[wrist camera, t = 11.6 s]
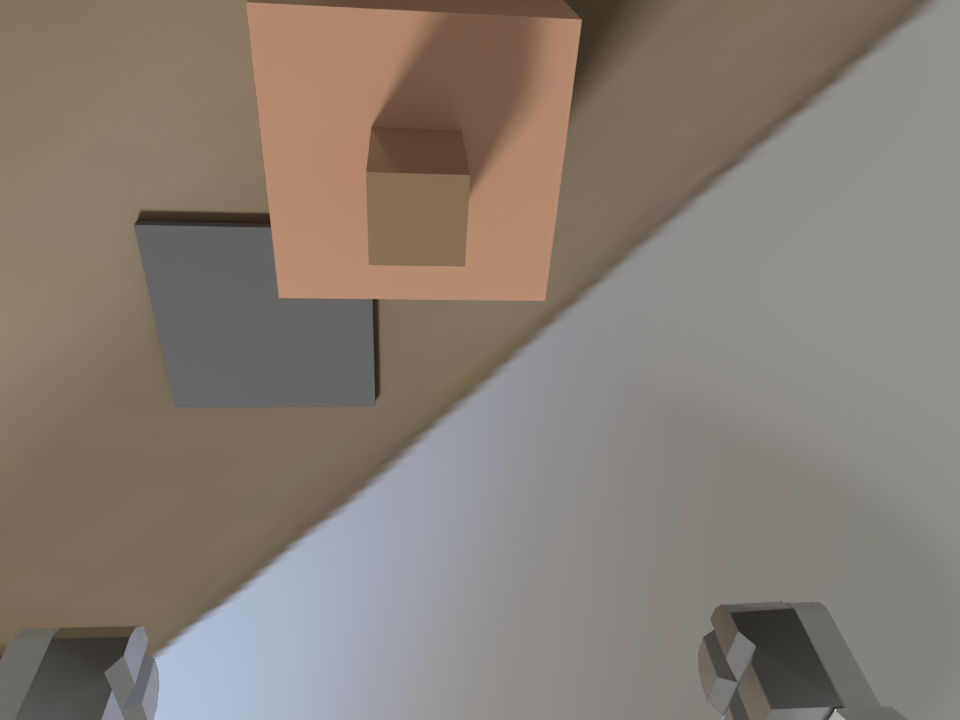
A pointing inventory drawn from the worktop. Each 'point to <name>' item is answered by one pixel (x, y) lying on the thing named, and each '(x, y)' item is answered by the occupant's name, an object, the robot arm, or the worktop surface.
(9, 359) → the worktop surface
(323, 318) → the mat
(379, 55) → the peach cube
